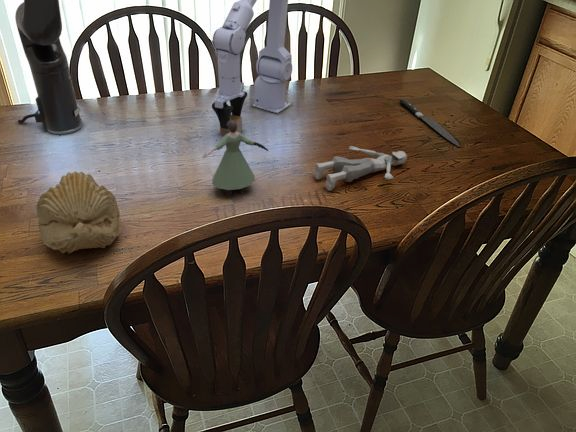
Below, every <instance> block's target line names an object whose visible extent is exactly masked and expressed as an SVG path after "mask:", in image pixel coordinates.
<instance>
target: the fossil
mask: <svg viewBox="0 0 576 432" xmlns="http://www.w3.org/2000/svg"><path fill="white" fill-rule="evenodd" d="M36 214H37V216H36V217H37V218H38V219H37V220H38V229H39V236H40V238H41V240H42V243H43V245H45V246H46V247H48V248H50V249H52V250H54V251H59V252H60V253H62V254H65V253H67V254H72V253H73V252H76V251H78V250H83V249H84V250H86V249H93V248H94V249H97V248H103V249H104V248H106V246H111V245H112V244H113V242H114V241H116V238H117V237H119V235H120V233H121V231H122V222H121V220H120V217H121V215H120V209H119V205H118V203H117V199H116V196H115V195H114V193H113V192H112V191H110V190H108V188H106V186H105V185H103V184H100V185H99V184H98V183H97V182H96V181H95V179H94V177H93V175H91V174H90V173H86V174H85V173H84V172H83V171H79V172H77V171H76V170H75V171H73V172H70V171H67V173H66V175H64V174H63V175H62V176H61V177H60V180H59V183H57V184H56V185H55V187H53V186H49V188H48V190H46V192H43V193H41V194H40V195H39V198H38V201H37V203H36Z"/></svg>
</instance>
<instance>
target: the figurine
mask: <svg viewBox="0 0 576 432" xmlns="http://www.w3.org/2000/svg"><path fill="white" fill-rule="evenodd" d="M348 149H349V151H354V152H361V153H363V154H366V155H367V156H368V155H369V156H374V157H377V158H373V157H364V158H354V159H349V158H346V157H343V156H337V155H335V156H333V158H332V160H330V161H325V162H321V163H315V164H314V170H313V173H314V174H313V176H314V178H315V179H316V180H321V179H322V178H323V176H324V172H325V171H328V170H331V169H332V170H333V172H335V173H327V174H326V181H325V188H326V190H327V191H329V192H330V191H333V190H334V188H335V187H336V182H337V181H341V180H343V181H344V182H346V183H351V182H353V181H354V180H358V179H359V178H361V177H364V176H366V175H369V174H372V173H375V172H379V171H384V170H385V169H386V172H385V174H384V176H383V179H385V180H388V181H390V180H392V179H394V176H393V175H392V174H391V169H392V168H391V167H393V166H400V165H404V164H405V163H406V161H407V159H408V155H407V154H406V152H405V151H402V150H398V151H392V152H391V154H392V155H389V154H386V153H384V152H377V151H375V150H371V149H362V148H359V147H357V146H353V145H350V146H349V147H348Z"/></svg>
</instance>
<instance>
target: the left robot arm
mask: <svg viewBox="0 0 576 432" xmlns="http://www.w3.org/2000/svg"><path fill="white" fill-rule="evenodd" d="M61 16H62V15H61V7H60V0H23V2H22V3H20V4H19V5H18V7H17V8H16V11H15V16H14V17H15V18H14V19H15V25H16V29H17V32H18V35H19V39H20V42H21V46H22V49H23V52H24V55H25V58H26V60H27V61H28V65H29V68H30V72H31V76H32V80H33V83H34V86H35V91H36V94H37V96H36V97H35V104H36V106H37V110H36V112H34V113H31V114H27V115H24V116H23V117H22V118H21V119H18V120H17V123H19V124H22V123H25V122H26V120H27V119H30V118H34V121H35V123H36V124H41V125H42V128H43V131H44V132H48V133H49V134H53V135H67V134H72V133H74V132H77V131H79V130H80V129H81V128H82V126H83V121H82V119H81V118H82V117H81V115H80V113H81V111H82V110H81V106H80V105H78V101H77V97H76V92H75V88H74V84H73V83H74V82H73V80H72V76H71V75H72V74H71V70H70V67H69V62H68V58H67V55H66V53H65V51H64V48H63V46H62V41H61V39H60V37H61V35H62V31H63V23H62V17H61Z"/></svg>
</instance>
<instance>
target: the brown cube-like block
mask: <svg viewBox="0 0 576 432" xmlns="http://www.w3.org/2000/svg"><path fill="white" fill-rule="evenodd" d="M230 120H234V121H235V122H236V124H237V130H236V132H239V133H241V134H242V132H243V124H242V123H243V117H242V116H236V115H232V114H231V116H230ZM229 132H230V130H229V129H224V128H221V126H220V125H219V135H220V136H223V137H224V136H225V135H226V134H228V133H229Z"/></svg>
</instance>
